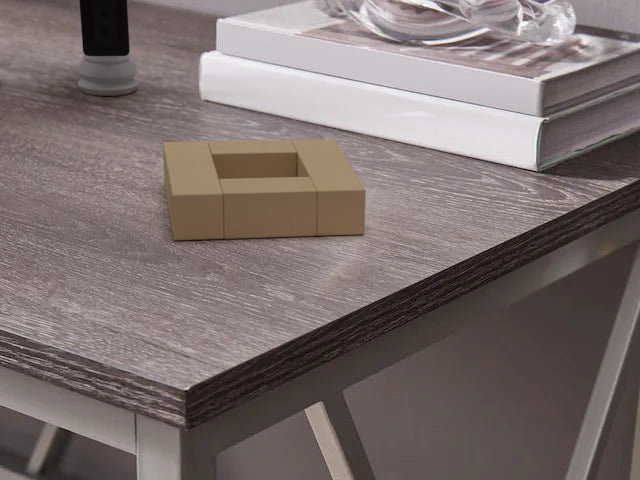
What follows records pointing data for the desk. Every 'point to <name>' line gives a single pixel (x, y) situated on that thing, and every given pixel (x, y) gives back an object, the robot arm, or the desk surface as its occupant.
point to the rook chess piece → (107, 75)
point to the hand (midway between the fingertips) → (106, 41)
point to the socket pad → (261, 189)
